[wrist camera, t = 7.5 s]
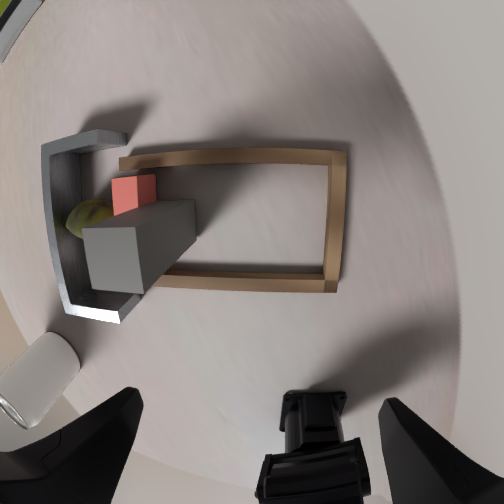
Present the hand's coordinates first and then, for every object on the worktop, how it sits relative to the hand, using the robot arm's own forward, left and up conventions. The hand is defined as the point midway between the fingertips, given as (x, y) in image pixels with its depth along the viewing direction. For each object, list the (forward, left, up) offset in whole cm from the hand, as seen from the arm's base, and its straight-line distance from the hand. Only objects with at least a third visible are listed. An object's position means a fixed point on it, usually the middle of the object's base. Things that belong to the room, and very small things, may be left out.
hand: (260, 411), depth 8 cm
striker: (+4, +8, -13) cm, 15 cm away
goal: (+4, +14, -13) cm, 20 cm away
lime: (+4, +13, -13) cm, 19 cm away
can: (-12, +25, -13) cm, 31 cm away
